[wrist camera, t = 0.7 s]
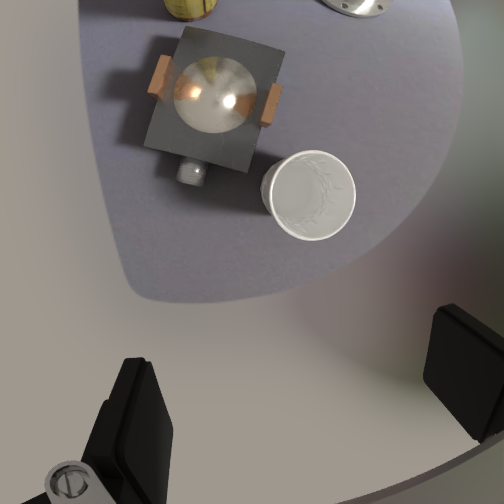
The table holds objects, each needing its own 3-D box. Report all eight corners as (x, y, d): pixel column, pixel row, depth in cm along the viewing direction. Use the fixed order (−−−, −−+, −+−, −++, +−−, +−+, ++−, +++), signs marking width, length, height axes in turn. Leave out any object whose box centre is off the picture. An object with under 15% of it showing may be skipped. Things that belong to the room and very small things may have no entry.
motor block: (184, 38, 31) (178, 13, 24) (282, 64, 33) (296, 43, 26) (140, 170, 34) (123, 170, 28) (241, 196, 36) (247, 202, 30)
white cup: (254, 222, 37) (267, 240, 28) (255, 153, 35) (270, 147, 26) (319, 223, 38) (352, 241, 29) (322, 157, 36) (357, 154, 27)
